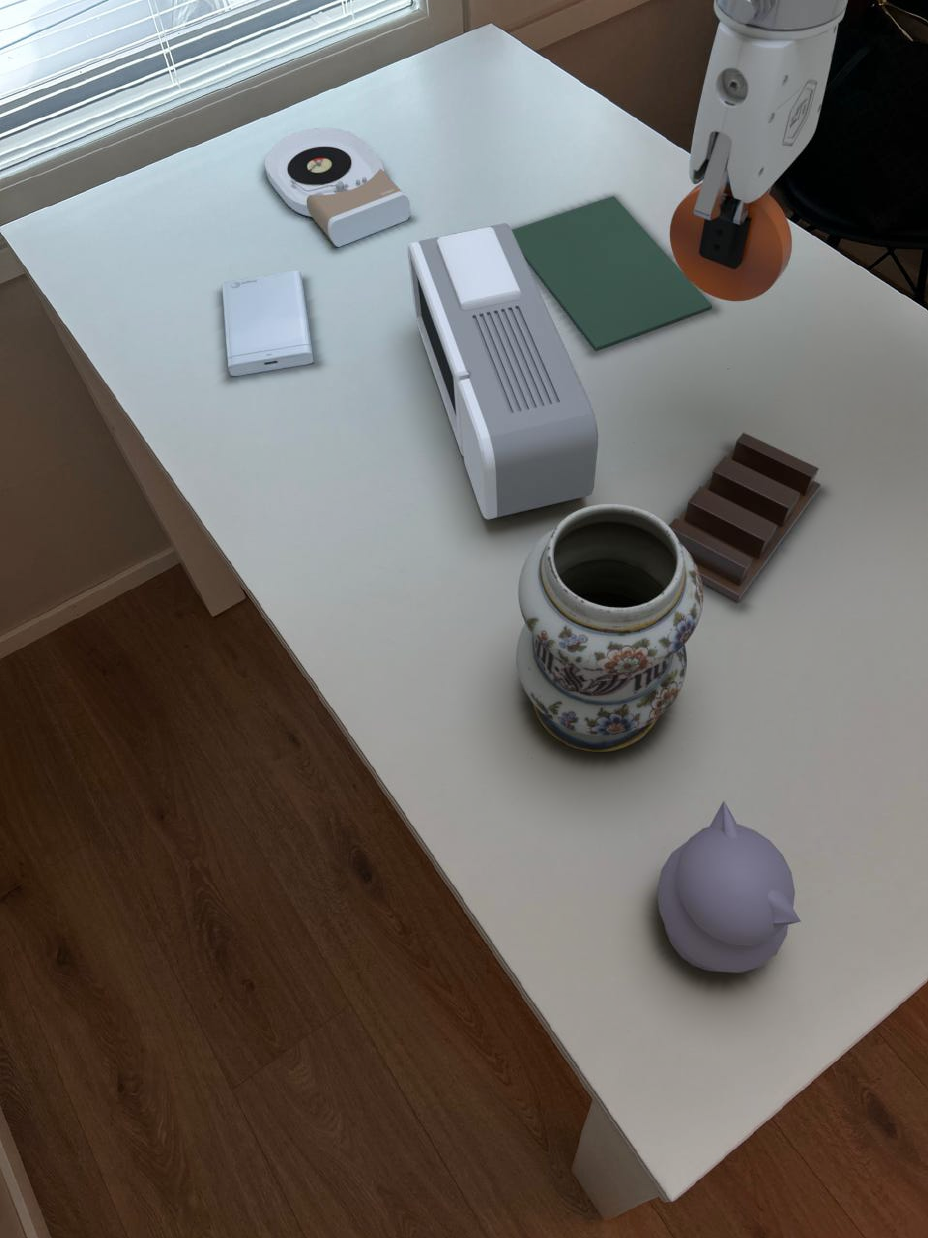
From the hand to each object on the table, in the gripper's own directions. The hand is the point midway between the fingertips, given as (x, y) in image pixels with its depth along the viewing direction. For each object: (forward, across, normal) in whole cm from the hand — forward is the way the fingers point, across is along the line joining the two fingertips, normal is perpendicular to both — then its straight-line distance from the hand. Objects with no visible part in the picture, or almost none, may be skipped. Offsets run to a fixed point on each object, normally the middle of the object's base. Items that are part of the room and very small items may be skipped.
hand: (726, 250), depth 71 cm
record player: (+19, +10, +51) cm, 56 cm away
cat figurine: (+19, -38, -23) cm, 48 cm away
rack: (+19, -7, -8) cm, 22 cm away
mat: (+19, +15, +18) cm, 30 cm away
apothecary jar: (+19, -27, -7) cm, 34 cm away
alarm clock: (+19, -8, +16) cm, 26 cm away
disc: (-1, 0, 0) cm, 1 cm away
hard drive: (+19, -11, +42) cm, 47 cm away
